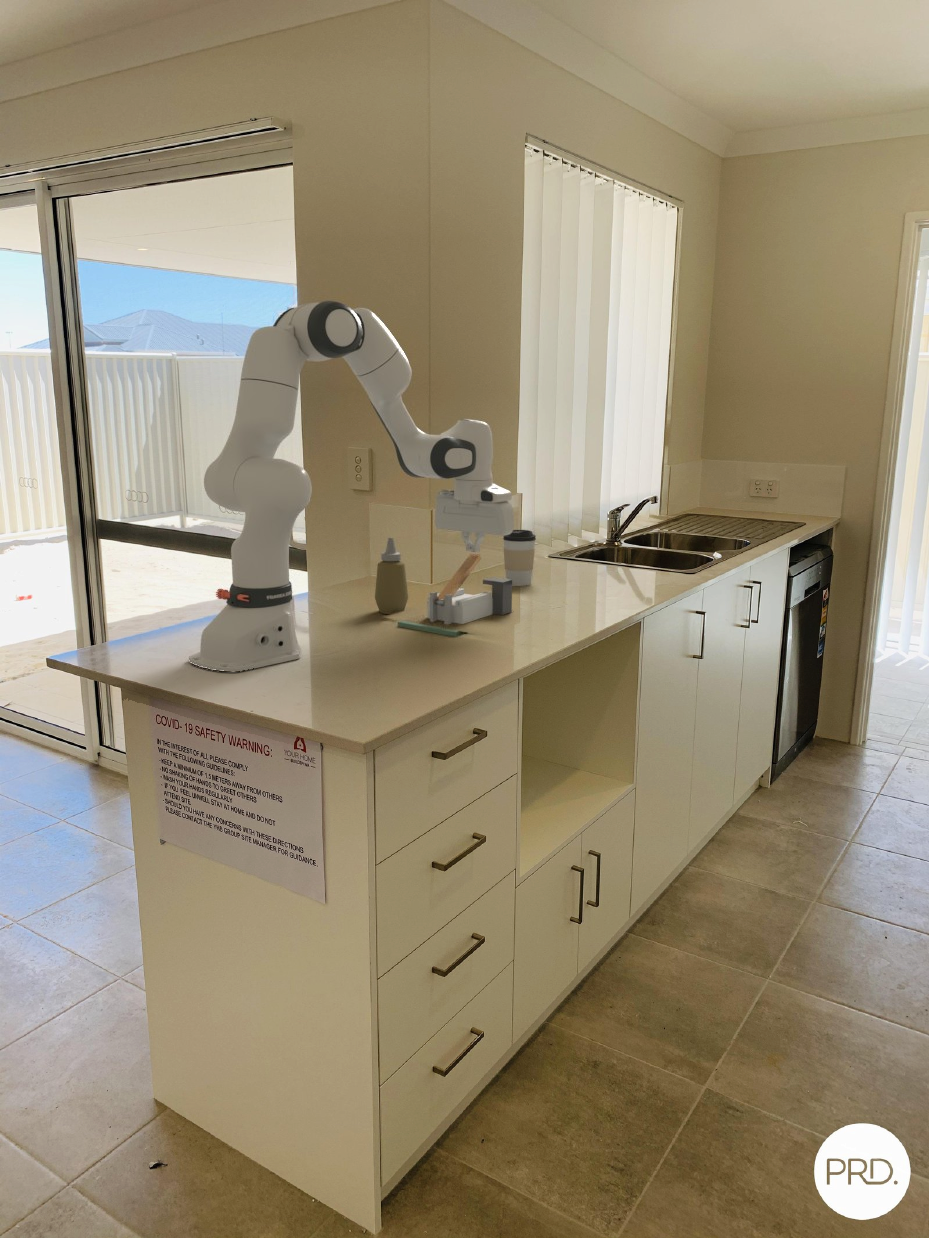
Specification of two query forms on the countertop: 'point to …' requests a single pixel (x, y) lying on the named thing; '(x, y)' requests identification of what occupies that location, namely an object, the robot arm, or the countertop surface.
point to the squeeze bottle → (391, 581)
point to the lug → (500, 595)
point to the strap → (458, 578)
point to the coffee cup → (519, 556)
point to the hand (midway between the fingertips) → (472, 551)
